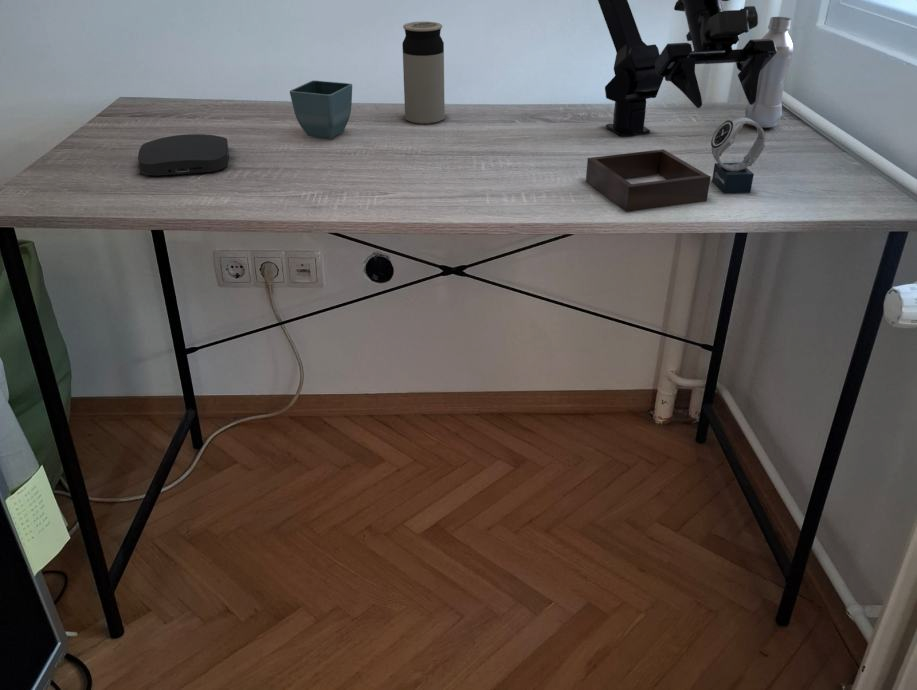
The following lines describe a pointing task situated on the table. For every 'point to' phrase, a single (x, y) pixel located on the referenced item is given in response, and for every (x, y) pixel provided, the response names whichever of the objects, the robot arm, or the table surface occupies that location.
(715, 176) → the watch
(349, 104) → the flower pot
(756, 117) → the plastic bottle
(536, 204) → the table surface
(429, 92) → the travel mug
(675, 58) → the robot arm
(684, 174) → the tray
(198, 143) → the media streaming box
